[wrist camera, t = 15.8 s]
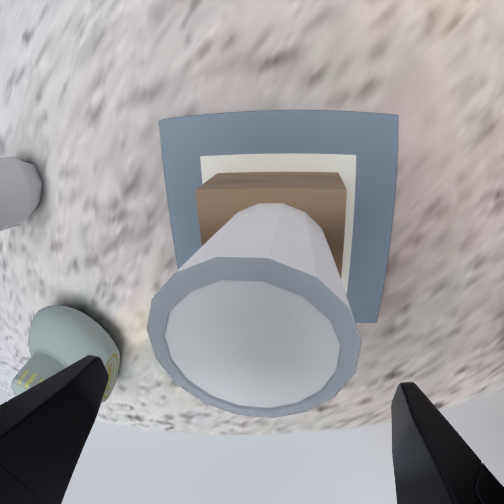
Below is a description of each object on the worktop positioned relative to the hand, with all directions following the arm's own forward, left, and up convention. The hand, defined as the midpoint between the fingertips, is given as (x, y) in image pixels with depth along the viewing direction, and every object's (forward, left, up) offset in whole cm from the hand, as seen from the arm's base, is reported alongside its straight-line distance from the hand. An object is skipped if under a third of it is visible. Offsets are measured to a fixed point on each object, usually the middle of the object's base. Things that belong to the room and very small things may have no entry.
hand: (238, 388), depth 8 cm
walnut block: (0, 0, -12) cm, 12 cm away
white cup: (0, 0, -8) cm, 9 cm away
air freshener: (+19, +12, -13) cm, 26 cm away
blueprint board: (0, 0, -13) cm, 13 cm away
